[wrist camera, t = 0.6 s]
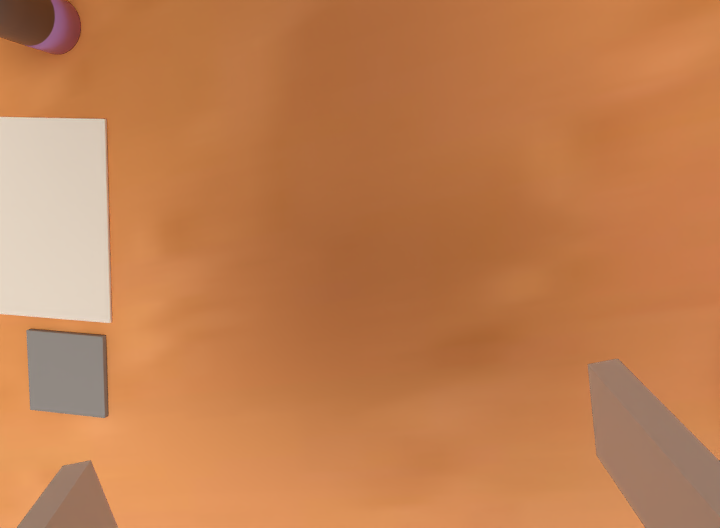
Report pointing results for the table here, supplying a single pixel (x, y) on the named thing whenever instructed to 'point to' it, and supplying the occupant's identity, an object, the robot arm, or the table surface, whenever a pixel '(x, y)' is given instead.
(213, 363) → the table surface
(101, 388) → the rest pad
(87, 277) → the paper
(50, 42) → the marker
